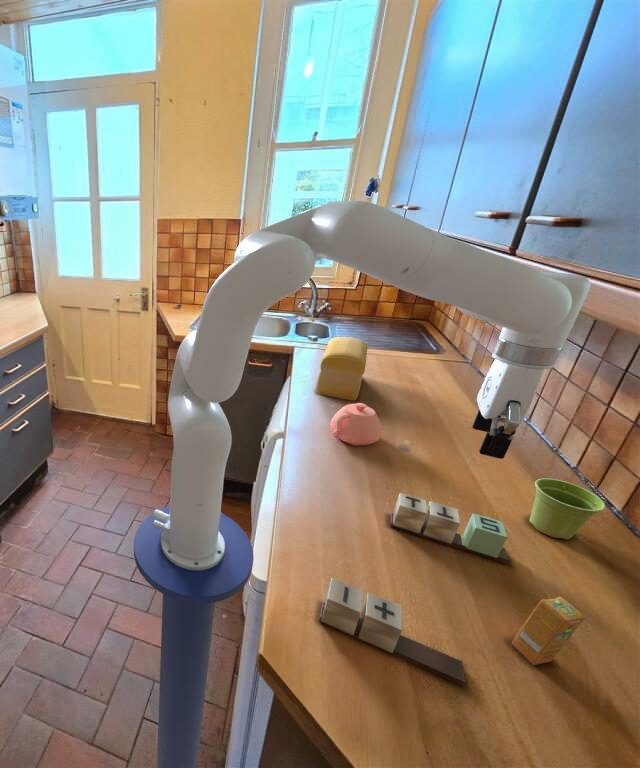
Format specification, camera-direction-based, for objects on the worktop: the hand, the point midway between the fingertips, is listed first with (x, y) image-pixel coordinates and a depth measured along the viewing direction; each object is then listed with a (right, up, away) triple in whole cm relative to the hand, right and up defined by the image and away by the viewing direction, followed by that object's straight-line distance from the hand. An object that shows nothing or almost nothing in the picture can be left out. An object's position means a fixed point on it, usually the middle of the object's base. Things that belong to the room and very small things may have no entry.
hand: (486, 442), depth 72 cm
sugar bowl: (-3, -5, +39) cm, 40 cm away
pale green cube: (+1, -20, +3) cm, 20 cm away
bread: (+11, +10, +71) cm, 73 cm away
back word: (-3, -20, +6) cm, 21 cm away
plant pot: (+20, -18, +8) cm, 28 cm away
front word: (-26, -28, -12) cm, 40 cm away
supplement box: (-6, -29, -14) cm, 32 cm away
